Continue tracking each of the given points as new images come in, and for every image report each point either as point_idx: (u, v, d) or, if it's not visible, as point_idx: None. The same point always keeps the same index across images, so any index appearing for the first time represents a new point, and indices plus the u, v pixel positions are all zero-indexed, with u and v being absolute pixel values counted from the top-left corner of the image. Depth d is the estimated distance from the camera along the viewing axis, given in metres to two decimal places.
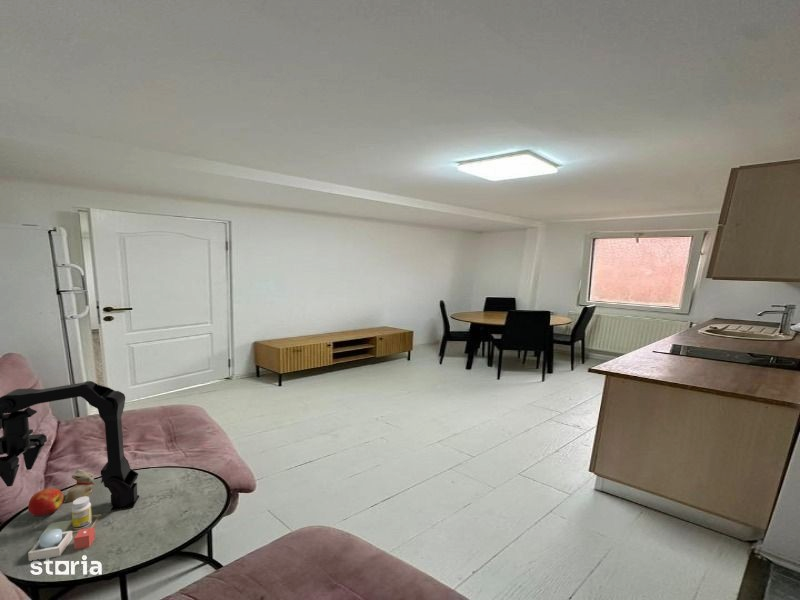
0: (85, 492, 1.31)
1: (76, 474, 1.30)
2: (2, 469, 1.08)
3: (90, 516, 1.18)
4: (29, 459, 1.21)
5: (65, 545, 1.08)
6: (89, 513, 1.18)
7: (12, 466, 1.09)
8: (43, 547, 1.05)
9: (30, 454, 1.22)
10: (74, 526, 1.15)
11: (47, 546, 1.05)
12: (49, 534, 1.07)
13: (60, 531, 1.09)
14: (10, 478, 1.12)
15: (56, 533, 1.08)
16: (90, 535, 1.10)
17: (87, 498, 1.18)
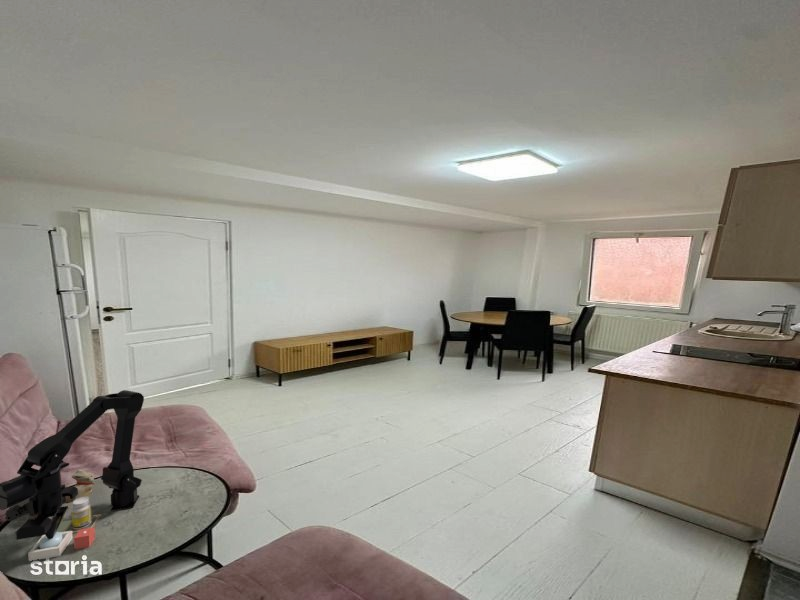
0: (85, 492, 1.31)
1: (76, 474, 1.30)
2: (35, 534, 0.98)
3: (90, 516, 1.18)
4: None
5: (65, 545, 1.08)
6: (89, 513, 1.18)
7: (45, 530, 1.00)
8: None
9: None
10: (74, 526, 1.15)
11: None
12: None
13: (60, 534, 1.09)
14: (51, 530, 1.06)
15: (56, 537, 1.08)
16: (90, 535, 1.10)
17: (87, 498, 1.18)
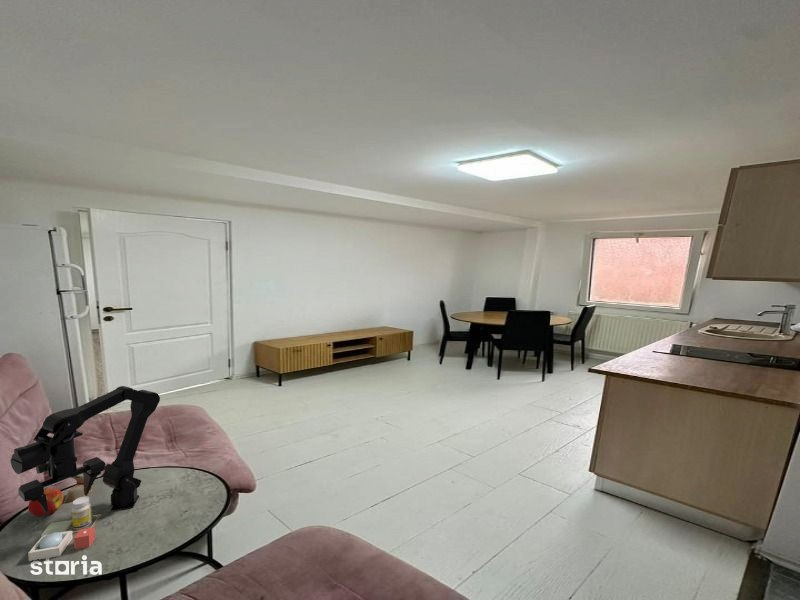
0: None
1: None
2: (23, 497, 1.02)
3: (90, 516, 1.18)
4: (85, 485, 1.15)
5: (65, 545, 1.08)
6: (89, 513, 1.18)
7: (30, 497, 1.02)
8: None
9: (86, 480, 1.15)
10: (74, 526, 1.15)
11: None
12: (49, 538, 1.07)
13: (60, 535, 1.09)
14: (42, 506, 1.06)
15: (56, 537, 1.08)
16: (90, 535, 1.10)
17: (87, 498, 1.18)
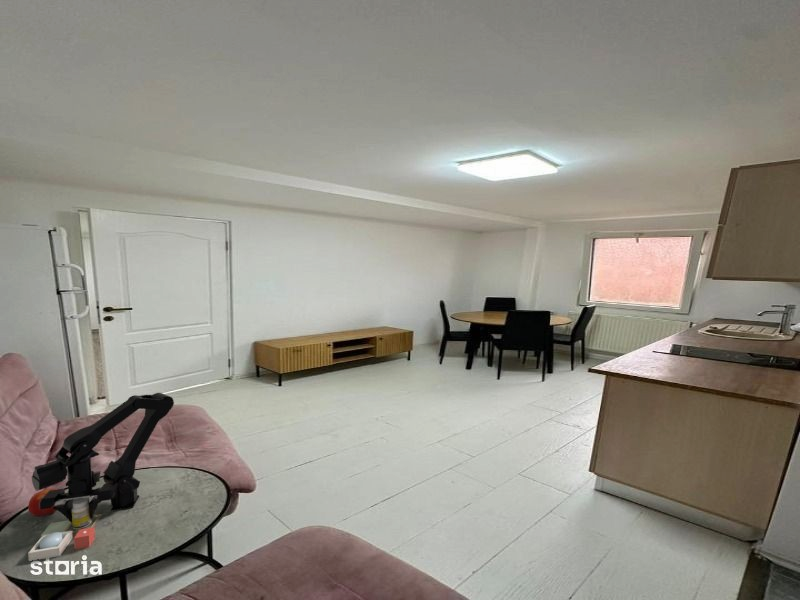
0: None
1: None
2: None
3: None
4: None
5: (65, 545, 1.08)
6: None
7: (42, 507, 1.11)
8: None
9: None
10: (74, 526, 1.15)
11: None
12: (49, 538, 1.07)
13: (60, 535, 1.09)
14: None
15: (56, 537, 1.08)
16: (90, 535, 1.10)
17: (87, 498, 1.18)
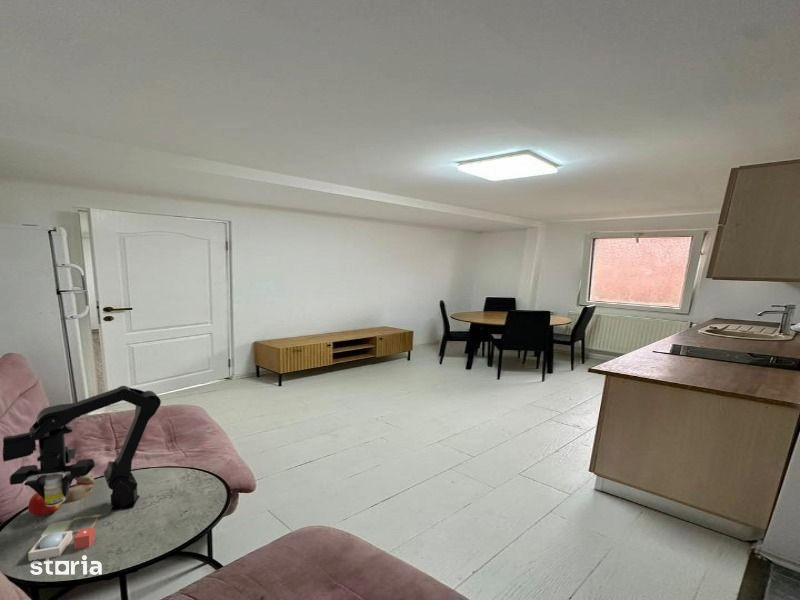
0: (85, 492, 1.31)
1: None
2: None
3: None
4: None
5: (65, 545, 1.08)
6: (62, 490, 1.15)
7: (12, 482, 1.08)
8: None
9: None
10: (47, 503, 1.12)
11: None
12: (49, 538, 1.07)
13: (60, 535, 1.09)
14: None
15: (56, 537, 1.08)
16: (90, 535, 1.10)
17: (60, 475, 1.15)
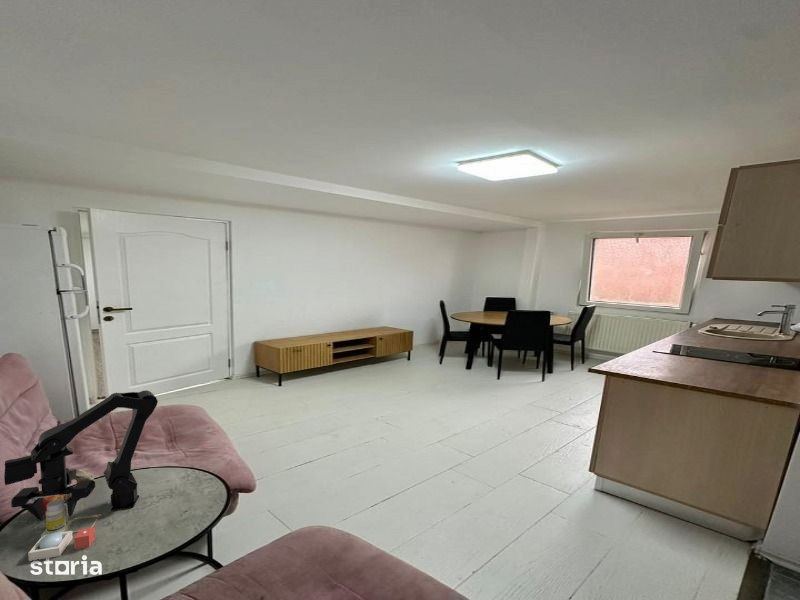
0: None
1: (76, 474, 1.30)
2: None
3: (65, 519, 1.16)
4: None
5: (65, 545, 1.08)
6: (64, 516, 1.15)
7: (14, 505, 1.09)
8: None
9: None
10: (48, 529, 1.13)
11: None
12: (49, 538, 1.07)
13: (60, 535, 1.09)
14: None
15: (56, 537, 1.08)
16: (90, 535, 1.10)
17: (62, 501, 1.16)
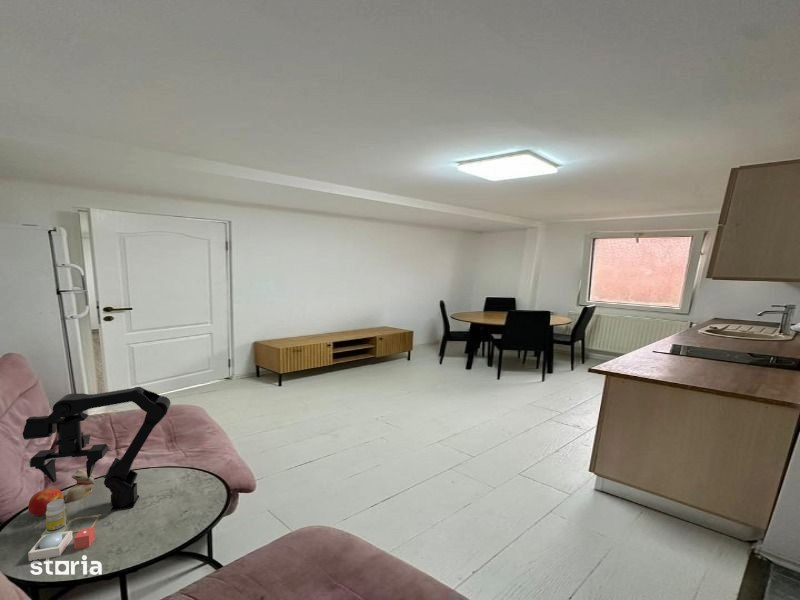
0: (85, 492, 1.31)
1: (76, 474, 1.30)
2: None
3: (65, 519, 1.16)
4: None
5: (65, 545, 1.08)
6: (64, 516, 1.16)
7: (32, 464, 1.15)
8: None
9: None
10: (48, 529, 1.13)
11: None
12: (49, 538, 1.07)
13: (60, 535, 1.09)
14: None
15: (56, 537, 1.08)
16: (90, 535, 1.10)
17: (62, 501, 1.16)
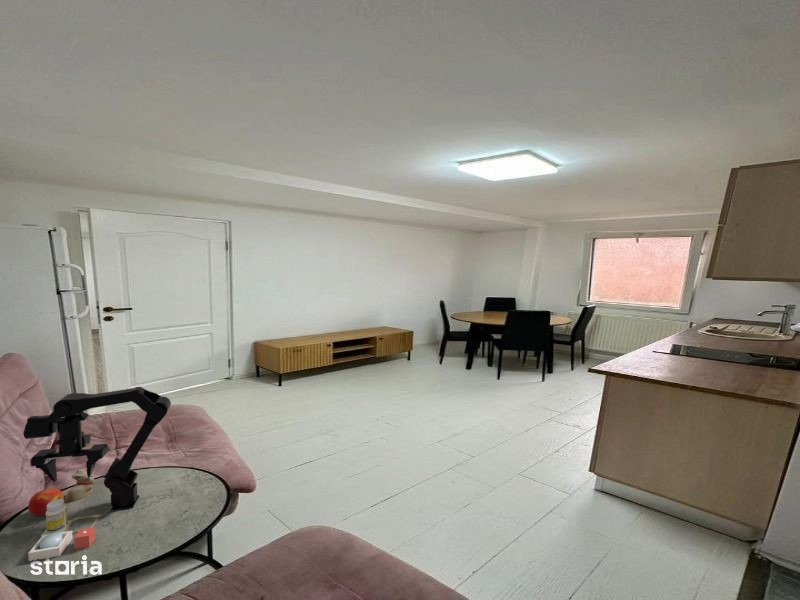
0: (85, 492, 1.31)
1: (76, 474, 1.30)
2: None
3: (65, 519, 1.16)
4: None
5: (65, 545, 1.08)
6: (64, 516, 1.16)
7: (33, 464, 1.15)
8: None
9: None
10: (48, 529, 1.13)
11: None
12: (49, 538, 1.07)
13: (60, 535, 1.09)
14: None
15: (56, 537, 1.08)
16: (90, 535, 1.10)
17: (62, 501, 1.16)
